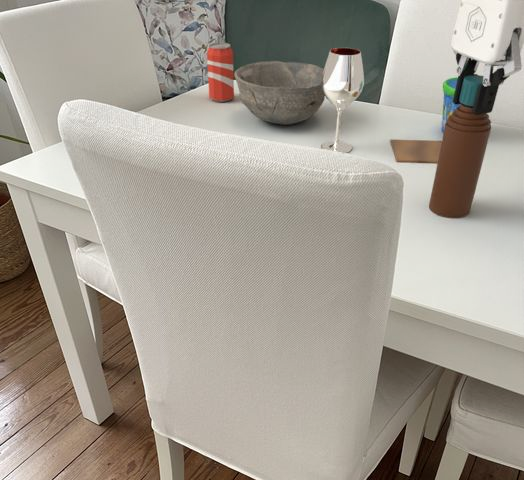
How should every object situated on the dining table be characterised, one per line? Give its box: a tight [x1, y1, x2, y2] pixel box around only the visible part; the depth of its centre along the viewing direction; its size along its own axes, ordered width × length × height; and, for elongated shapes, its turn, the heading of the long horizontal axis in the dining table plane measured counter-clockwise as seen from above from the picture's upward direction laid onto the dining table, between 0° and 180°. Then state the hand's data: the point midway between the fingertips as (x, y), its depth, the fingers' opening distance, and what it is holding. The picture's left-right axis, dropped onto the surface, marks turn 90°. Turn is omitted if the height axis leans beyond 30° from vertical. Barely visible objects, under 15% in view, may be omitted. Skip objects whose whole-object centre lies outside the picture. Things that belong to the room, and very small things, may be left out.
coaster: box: [389, 139, 442, 164], centre depth 116 cm, size 11×11×1 cm
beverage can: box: [206, 42, 235, 103], centre depth 137 cm, size 6×6×12 cm
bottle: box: [428, 103, 492, 219], centre depth 90 cm, size 7×7×20 cm
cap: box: [459, 74, 484, 106], centre depth 84 cm, size 4×4×3 cm
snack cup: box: [441, 76, 461, 133], centre depth 120 cm, size 16×10×10 cm
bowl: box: [233, 60, 326, 126], centre depth 126 cm, size 21×21×10 cm
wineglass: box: [320, 47, 365, 154], centre depth 111 cm, size 8×8×18 cm
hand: (471, 106), depth 86 cm, fingers closed on cap, 4 cm apart
